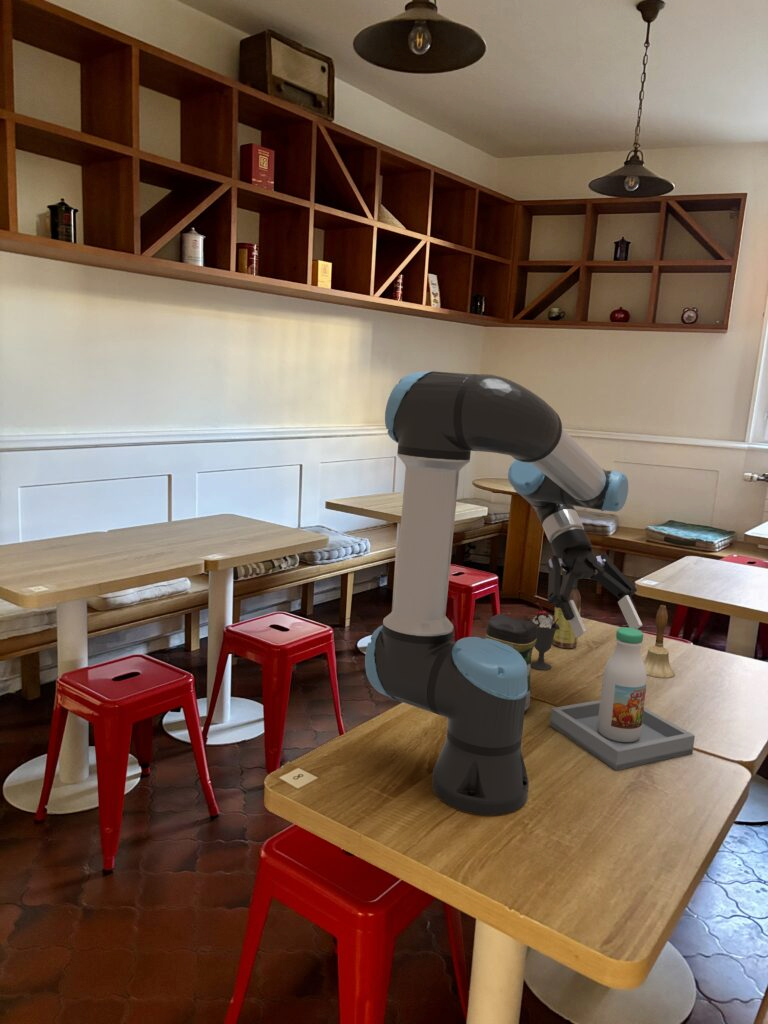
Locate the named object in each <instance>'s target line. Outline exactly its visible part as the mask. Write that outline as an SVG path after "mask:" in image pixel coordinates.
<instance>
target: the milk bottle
mask: <svg viewBox="0 0 768 1024" xmlns="http://www.w3.org/2000/svg"><path fill="white" fill-rule="evenodd" d="M615 633H616V634H615V635H616V636H615V642H616V646H615V649H614V650H613V653H612V654H611V656H610V657H609V658H608V660H607V662H606V664H605V667H604V671H603V676H602V681H601V682H602V683H601V688H600V689H601V690H600V697H599V700H600V707H599V716H598V727H597V728H598V731H599V733H600V734H601V735H602V736H604V737H606V738H608V739H610V740H614V741H618V742H634V741H637V740H638V739H639V737H640V735H641V728H642V720H643V711H644V708H645V702H646V701H645V700H646V693H647V682H648V681H647V678H648V677H647V676H648V675H647V674H646V669H645V665H644V662H643V661H644V660H643V656H642V652H641V646H642V645H643V639H644V633H643V631H641V630H640V629H633V628H629V627H619V628H618V629H617V630H616V632H615Z"/></svg>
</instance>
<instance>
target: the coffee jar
mask: <svg viewBox="0 0 768 1024" xmlns="http://www.w3.org/2000/svg"><path fill="white" fill-rule="evenodd" d="M485 638H488V639H492V640H496V641H499V642H501V643H504V644H506V645H508V646H510V647H512V648H513V649H515V650H516V651H518V652H519V653H520V654H521V655H522V657H523V659H524V660H525V662H526V664H527V683H528V691H527V694H526V703H525V712H526V711H527V710H528V709H529V707H530V704H531V703H530V702H531V668H532V667H531V662H532V654H533V650H534V648H535V647H534V646H535V643H536V625H535V623H534V622H532V621H529V620H525V619H522V618H521V619H520V618H518V617H513V616H508V615H505V614H502V613H498V614H495V615H493V616H492V617H490V618H489V620H488V623H487V627H486V631H485Z"/></svg>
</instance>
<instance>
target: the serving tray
mask: <svg viewBox="0 0 768 1024" xmlns="http://www.w3.org/2000/svg"><path fill="white" fill-rule="evenodd" d="M599 707H600V699H597V700H592V701H586V702H580V703H573V704H569V705H568V704H567V705H563V706H555V707H551V708H550V718H549V726H550V728H551V727H552V728H553V729H555V730H556V731H557V732H558V733H560V734H561V735H563V736H564V737H566V738H567V739H569V740H570V741H572V742H573V743H574V744H576V745H577V746H579V747H581V748H582V749H584V750H585V752H586V751H587V752H588V753H589V754H591V755H592V756H593V757H595V758H596V759H598V760H599V761H601V762H602V763H604V764H606V765H607V766H608V767H609V768H611V769H612V770H614V771H615V772H616V771H617V772H618V771H620V770H625V769H631V768H635V767H639V766H644V765H648V764H652V763H657V762H661V761H666V760H670V759H675V758H680V757H683V756H688V755H693V754H694V753H693V752H694V746H695V745H694V744H695V738H696V735H695V734H693V733H691V732H689V731H687V730H686V729H684V728H682V727H680V726H678V725H676V724H675V723H673V722H671V721H669V719H666V718H664V717H662V716H660V715H659V714H657V713H655V712H653V711H651V710H650V709H648V708H645V707H644V711H643V720H642V728H641V735H640V737H639V739H638V740H637V741H634V742H618V741H614V740H610V739H608V738H606V737H604V736H602V735H601V734H600V733H599V731H598V728H597V727H598V716H599Z"/></svg>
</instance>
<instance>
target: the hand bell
mask: <svg viewBox="0 0 768 1024" xmlns="http://www.w3.org/2000/svg"><path fill="white" fill-rule="evenodd" d="M668 619H669V614H668V610H667V606H666V605H665V604H660V605H659V607H658V610H657V612H656V615H655V628H656V636H655V644H654V645H653V646H650V647H648V649H647V653H646V656H645V659H644V660H643V662H644V665H645V669H646V674H647V676H649V677H652V678H658V679H670V678H673V677H675V676H676V673H675V670H674V669H673V668H672V666H671V663H670V656H669V655H670V654H669V653H670V652H669V650H668V649H667V648H665V647H664V637H665V635H664V634H665V630H666V628H667V624H668V621H669V620H668Z"/></svg>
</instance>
